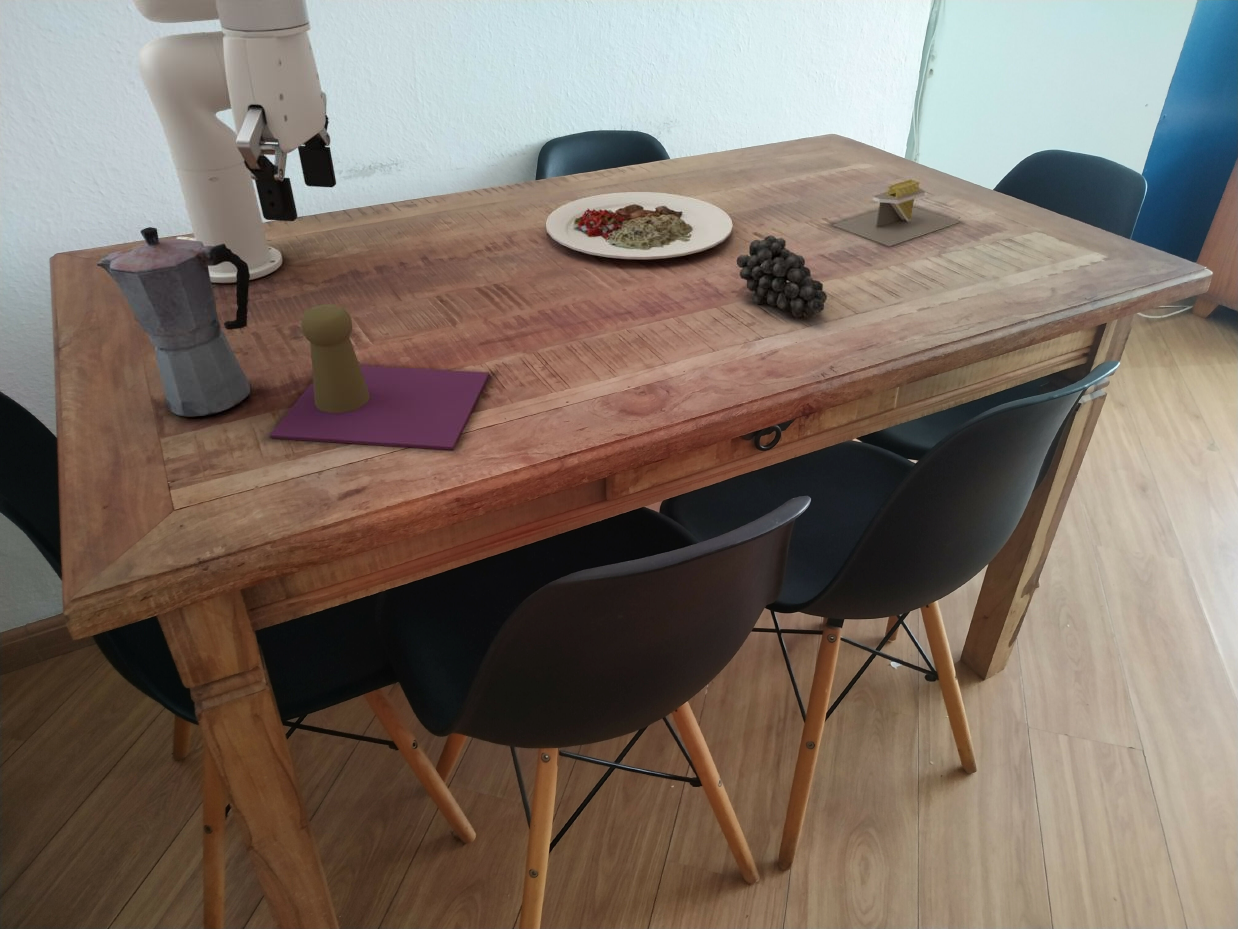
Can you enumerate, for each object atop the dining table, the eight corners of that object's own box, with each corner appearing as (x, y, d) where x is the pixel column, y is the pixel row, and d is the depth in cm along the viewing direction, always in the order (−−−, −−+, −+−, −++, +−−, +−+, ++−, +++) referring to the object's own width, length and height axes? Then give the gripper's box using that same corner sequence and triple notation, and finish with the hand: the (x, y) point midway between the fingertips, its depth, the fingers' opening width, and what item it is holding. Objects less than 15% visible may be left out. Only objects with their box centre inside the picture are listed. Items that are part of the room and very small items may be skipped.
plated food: (759, 258, 135) (761, 236, 133) (566, 277, 129) (565, 255, 127) (697, 196, 159) (698, 177, 157) (532, 210, 153) (531, 191, 151)
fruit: (842, 258, 111) (770, 219, 122) (789, 290, 110) (721, 248, 120) (849, 313, 117) (779, 271, 128) (799, 344, 116) (733, 299, 126)
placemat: (270, 438, 94) (269, 435, 94) (327, 366, 108) (327, 363, 107) (453, 450, 93) (452, 446, 92) (489, 375, 106) (489, 372, 105)
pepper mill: (355, 415, 97) (337, 324, 91) (304, 410, 98) (283, 319, 92) (378, 388, 102) (362, 300, 96) (330, 383, 103) (310, 295, 97)
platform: (959, 222, 148) (968, 182, 144) (889, 246, 139) (896, 204, 135) (901, 203, 156) (908, 165, 152) (831, 224, 147) (837, 185, 143)
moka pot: (158, 380, 105) (102, 214, 93) (292, 374, 106) (252, 209, 94) (129, 423, 97) (63, 247, 86) (273, 416, 98) (227, 242, 87)
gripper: (265, -5, 86) (301, 172, 96) (172, 29, 72) (225, 232, 82) (340, -2, 85) (368, 176, 95) (260, 32, 71) (302, 236, 82)
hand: (302, 201), depth 89 cm, fingers open, 9 cm apart
